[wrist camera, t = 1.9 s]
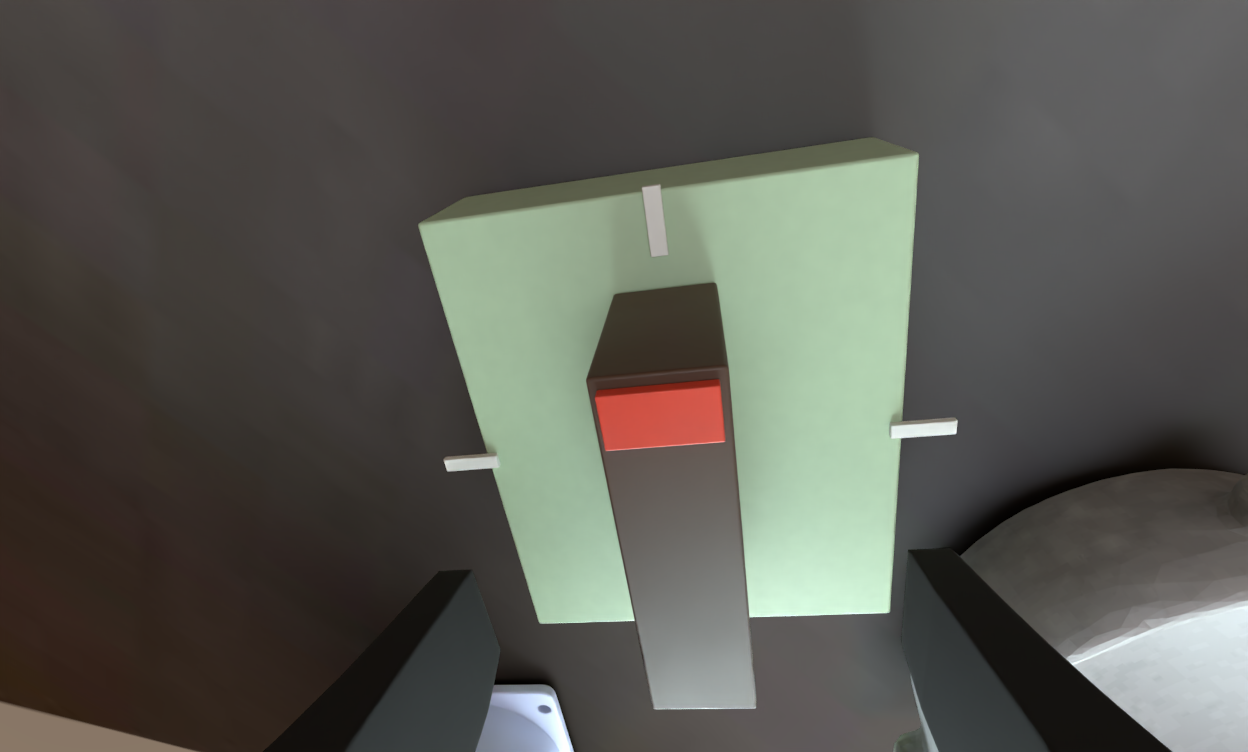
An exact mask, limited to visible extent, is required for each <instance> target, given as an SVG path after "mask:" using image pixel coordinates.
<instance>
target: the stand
mask: <svg viewBox="0 0 1248 752" xmlns="http://www.w3.org/2000/svg"><path fill="white" fill-rule="evenodd" d="M918 163H919V154H918V153H917V152H914V151H911V150H909V149H906V148H903V147H900V146H897V145H894V144H891V143H888V142H885V141H883V140H880V139H877V138H874V137H870V138H863V139H856V140H849V141H842V142H836V143H829V144H822V145H815V146H809V147H802V148H795V149H788V150H781V151H775V152H768V153H761V154H754V155H748V156H741V157H734V158H727V159H721V160H714V161H707V162H700V163H693V164H687V165H680V166H673V167H666V168H660V169H653V170H646V171H639V172H632V173H626V174H619V175H612V176H605V177H599V178H592V179H585V180H578V181H572V182H565V183H558V184H551V185H544V186H538V187H531V188H524V189H517V190H511V191H504V192H497V193H490V194H483V195H477V196H470V197H465V198H463V199H461V200H460V201H458V202H456V203H454V204H452V205H451V206H449V207H447V208H445V209H444V210H442V211H440V212H438V213H436V214H435V215H433V216H431V217H429V218H428V219H426V220H424V221H422V222H421V223H419V224H418V227H419V230H420V234H421V237H422V240H423V244H424V247H425V250H426V253H427V257H428V260H429V263H430V266H431V270H432V273H433V276H434V280H435V283H436V286H437V289H438V293H439V296H440V299H441V303H442V306H443V309H444V312H445V316H446V319H447V322H448V326H449V329H450V332H451V335H452V339H453V342H454V345H455V348H456V352H457V355H458V358H459V362H460V365H461V368H462V371H463V375H464V378H465V381H466V385H467V388H468V391H469V394H470V398H471V401H472V404H473V407H474V411H475V414H476V417H477V421H478V424H479V427H480V430H481V434H482V437H483V440H484V444H485V447H486V450H487V453H488V454H476V455H463V456H450V457H445V459H444V463H445V466H446V469H447V471H460V470H473V469H487V468H492V470H493V473H494V476H495V480H496V483H497V486H498V489H499V493H500V496H501V499H502V503H503V506H504V509H505V512H506V516H507V519H508V522H509V526H510V529H511V532H512V535H513V539H514V542H515V545H516V548H517V552H518V555H519V558H520V562H521V565H522V568H523V571H524V575H525V578H526V581H527V585H528V588H529V591H530V594H531V598H532V601H533V604H534V608H535V611H536V614H537V617H538V621H539V623H541V624H542V623H574V622H607V621H635V619H634V615H633V610H632V605H631V600H630V595H629V590H628V585H627V580H626V575H625V570H624V565H623V561H622V556H621V551H620V546H619V541H618V536H617V531H616V526H615V521H614V516H613V512H612V507H611V502H610V497H609V492H608V487H607V482H606V477H605V472H604V467H603V463H602V458H601V453H600V448H599V443H598V438H597V433H596V428H595V423H594V418H593V413H592V409H591V404H590V399H589V394H588V389H587V384H586V378H587V375H588V372H589V369H590V366H591V363H592V360H593V357H594V354H595V351H596V348H597V345H598V342H599V339H600V335H601V332H602V329H603V326H604V323H605V320H606V317H607V314H608V311H609V308H610V305H611V302H612V299H613V296H614V295H615V294H620V293H629V292H637V291H646V290H654V289H663V288H672V287H680V286H689V285H697V284H706V283H716V284H717V288H718V295H719V302H720V309H721V316H722V323H723V330H724V337H725V344H726V351H727V358H728V365H729V376H730V388H731V400H732V412H733V424H734V436H735V448H736V460H737V472H738V484H739V496H740V508H741V520H742V532H743V544H744V556H745V568H746V580H747V592H748V604H749V616H750V617H768V616H800V615H832V614H865V613H888V612H890V604H891V589H892V573H893V557H894V541H895V526H896V510H897V494H898V478H899V463H900V447H901V438H909V437H923V436H936V435H950V434H956V431H957V422H958V421H957V419H956V418H941V419H928V420H915V421H902V415H903V400H904V384H905V368H906V352H907V336H908V321H909V305H910V289H911V273H912V258H913V242H914V226H915V210H916V195H917V179H918Z"/></svg>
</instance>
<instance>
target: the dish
mask: <svg viewBox="0 0 1248 752" xmlns="http://www.w3.org/2000/svg"><path fill="white" fill-rule="evenodd" d="M960 557H961V558H962V559H963V560H964V561H965V562H966V563H967V564H968V565H969V566H970V567H971V568H972V569H973V570H974V571H975V572H976V573H977V574H978V575H979V576H980V577H981V578H982V579H983V580H984V581H985V582H986V583H987V584H988V585H989V586H990V587H991V588H992V589H993V590H994V591H995V592H996V593H997V594H998V595H999V596H1000V597H1001V598H1002V599H1003V600H1004V601H1005V602H1006V603H1007V604H1008V605H1009V606H1010V607H1011V608H1012V609H1013V610H1014V611H1015V612H1016V613H1017V614H1018V615H1019V616H1021V617H1022V618H1023V619H1024V620H1025V621H1026V622H1027V623H1028V624H1029V625H1030V626H1031V627H1032V628H1033V629H1034V630H1035V631H1036V632H1037V633H1038V634H1039V635H1040V636H1041V637H1043V638H1044V639H1045V640H1046V641H1047V642H1048V643H1049V644H1050V645H1051V646H1052V647H1053V648H1054V649H1056V650H1057V651H1058V652H1059V653H1060V654H1061V655H1062V656H1063V657H1064V658H1065V659H1066V660H1068V661H1069V662H1070V663H1071V664H1072V665H1073V666H1074V667H1075V668H1076V669H1077V670H1078V671H1080V672H1081V673H1082V674H1083V675H1084V676H1085V677H1086V678H1087V679H1088V680H1089V681H1091V682H1092V683H1093V684H1094V685H1095V686H1096V687H1097V688H1098V689H1100V690H1101V691H1102V692H1103V693H1104V694H1105V695H1106V696H1108V697H1109V698H1110V699H1111V700H1112V701H1113V702H1114V703H1116V704H1117V705H1118V706H1119V707H1120V708H1121V709H1123V710H1124V711H1125V712H1126V713H1127V714H1128V715H1130V716H1131V717H1132V718H1133V719H1134V720H1135V721H1137V722H1138V723H1139V724H1140V725H1141V726H1143V727H1144V728H1145V729H1146V730H1147V731H1148V732H1150V733H1151V734H1152V735H1153V736H1154V737H1156V738H1157V739H1158V740H1159V741H1160V742H1161V743H1163V744H1164V745H1165V746H1166V747H1168V748H1169V749H1170V750H1171V751H1172V752H1248V474H1247V475H1240V474H1237V473H1230V472H1223V471H1216V470H1204V469H1161V470H1153V471H1145V472H1138V473H1132V474H1127V475H1122V476H1118V477H1113V478H1108V479H1104V480H1100V481H1096V482H1093V483H1090V484H1087V485H1084V486H1081V487H1078V488H1075V489H1072V490H1069V491H1066V492H1064V493H1061V494H1058V495H1056V496H1053V497H1051V498H1048V499H1046V500H1044V501H1042V502H1040V503H1038V504H1036V505H1033V506H1031V507H1029V508H1027V509H1024V510H1023V511H1021V512H1019V513H1018V514H1016V515H1014V516H1013V517H1011V518H1009V519H1008V520H1006V521H1004V522H1002V523H1001V524H1000V525H998V526H997V527H996V528H994V529H993V530H991V531H990V532H989V533H987V534H986V535H985V536H983V537H982V538H980V539H979V540H978V541H976V542H975V543H974V544H973V545H972V546H971V547H970V548H969V549H967V550H966V551H965V552H964V553H963V554H962V555H961V556H960ZM911 682H912V687H913V691H914V696H915V700H916V704H917V708H918V712H919V716H920V720H921V726H920V728H919V729H917V730H916V731H912V732H908V733H905V734H903V735H900V737H899V738H898V739H897V741H896V742H895V744H894V750H893V752H939V751H938V749H937V747H936V744H935V742H934V739H933V737H932V734H931V732H930V730H929V727H928V725H927V722H926V720H925V717H924V715H923V712H922V710H921V707H920V703H919V700H918V697H917V694H916V690H915V687H914V684H913V680H912V677H911Z"/></svg>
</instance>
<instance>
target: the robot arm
mask: <svg viewBox="0 0 1248 752" xmlns="http://www.w3.org/2000/svg"><path fill="white" fill-rule="evenodd" d="M901 642H902V645H903V649H904V652H905V656H906V659H907V663H908V667H909V670H910V674H911V677H912V680H913V684H914V687H915V690H916V694H917V697H918V700H919V703H920V707H921V710H922V712H923V715H924V717H925V720H926V722H927V725H928V727H929V730H930V732H931V734H932V737H933V739H934V742H935V744H936V747H937V749H938V751H939V752H1172V751H1171V750H1170V749H1169V748H1168V747H1166V746H1165V745H1164V744H1163V743H1161V742H1160V741H1159V740H1158V739H1157V738H1156V737H1154V736H1153V735H1152V734H1151V733H1150V732H1148V731H1147V730H1146V729H1145V728H1144V727H1143V726H1141V725H1140V724H1139V723H1138V722H1137V721H1135V720H1134V719H1133V718H1132V717H1131V716H1130V715H1128V714H1127V713H1126V712H1125V711H1124V710H1123V709H1121V708H1120V707H1119V706H1118V705H1117V704H1116V703H1114V702H1113V701H1112V700H1111V699H1110V698H1109V697H1108V696H1106V695H1105V694H1104V693H1103V692H1102V691H1101V690H1100V689H1098V688H1097V687H1096V686H1095V685H1094V684H1093V683H1092V682H1091V681H1089V680H1088V679H1087V678H1086V677H1085V676H1084V675H1083V674H1082V673H1081V672H1080V671H1078V670H1077V669H1076V668H1075V667H1074V666H1073V665H1072V664H1071V663H1070V662H1069V661H1068V660H1066V659H1065V658H1064V657H1063V656H1062V655H1061V654H1060V653H1059V652H1058V651H1057V650H1056V649H1054V648H1053V647H1052V646H1051V645H1050V644H1049V643H1048V642H1047V641H1046V640H1045V639H1044V638H1043V637H1041V636H1040V635H1039V634H1038V633H1037V632H1036V631H1035V630H1034V629H1033V628H1032V627H1031V626H1030V625H1029V624H1028V623H1027V622H1026V621H1025V620H1024V619H1023V618H1022V617H1021V616H1019V615H1018V614H1017V613H1016V612H1015V611H1014V610H1013V609H1012V608H1011V607H1010V606H1009V605H1008V604H1007V603H1006V602H1005V601H1004V600H1003V599H1002V598H1001V597H1000V596H999V595H998V594H997V593H996V592H995V591H994V590H993V589H992V588H991V587H990V586H989V585H988V584H987V583H986V582H985V581H984V580H983V579H982V578H981V577H980V576H979V575H978V574H977V573H976V572H975V571H974V570H973V569H972V568H971V567H970V566H969V565H968V564H967V563H966V562H965V561H964V560H963V559H962V558H961V557H960V556H959V555H958V554H957V553H956V552H954V551H953V550H952V549H951V548H939V549H917V550H908V560H907V573H906V585H905V598H904V611H903V624H902V636H901ZM500 651H501V650H500V647H499V644H498V641H497V638H496V636H495V633H494V630H493V627H492V625H491V622H490V619H489V616H488V613H487V611H486V608H485V605H484V602H483V599H482V597H481V594H480V591H479V588H478V585H477V583H476V580H475V577H474V574H473V571H472V570H452V571H439V572H438V573H437V574H436V575H435V576H434V577H433V578H432V579H431V580H430V581H429V582H428V583H427V584H426V585H425V586H424V588H423V589H422V590H421V591H420V592H419V593H418V594H417V595H416V596H415V597H414V598H413V599H412V600H411V602H410V603H409V604H408V605H407V606H406V607H405V608H404V609H403V610H402V611H401V612H400V613H399V615H398V616H397V617H396V618H395V619H394V620H393V621H392V622H391V623H390V624H389V625H388V626H387V628H386V629H385V630H384V631H383V632H382V633H381V634H380V635H379V636H378V637H377V638H376V639H375V640H374V641H373V642H372V644H371V645H370V646H369V647H368V648H367V649H366V650H365V651H364V652H363V653H362V654H361V655H360V656H359V657H358V658H357V659H356V660H355V662H354V663H353V664H352V665H351V666H350V667H349V668H348V669H347V670H346V671H345V672H344V673H343V674H342V675H341V676H340V677H339V678H338V679H337V680H336V681H335V682H334V683H333V684H332V685H331V686H330V687H329V688H328V689H327V690H326V691H325V692H324V693H323V694H322V695H321V696H320V697H319V698H318V699H317V700H316V701H315V702H314V703H313V704H312V705H311V706H310V707H309V708H308V709H307V710H306V711H305V712H304V713H303V714H302V715H301V716H300V717H299V718H298V719H297V720H296V721H295V722H294V723H293V724H292V725H291V726H290V727H289V728H288V729H286V730H285V731H284V732H283V733H282V734H281V735H280V736H279V737H278V738H277V739H276V740H275V741H274V742H273V743H272V744H271V745H270V746H269V747H267V748H266V749H265V750H264V751H263V752H574V750H573V747H572V744H571V741H570V737H569V734H568V731H567V728H566V725H565V721H564V718H563V715H562V712H561V708H560V705H559V702H558V699H557V696H556V693H555V691H554V689H553V688H551V687H550V686H548V685H544V684H522V685H494V682H495V677H496V672H497V666H498V661H499V656H500Z"/></svg>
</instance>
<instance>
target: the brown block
mask: <svg viewBox="0 0 1248 752" xmlns="http://www.w3.org/2000/svg"><path fill="white" fill-rule="evenodd" d="M586 384H587V389H588V394H589V399H590V404H591V409H592V413H593V418H594V423H595V428H596V433H597V438H598V443H599V448H600V453H601V458H602V463H603V467H604V472H605V477H606V482H607V487H608V492H609V497H610V502H611V507H612V512H613V516H614V521H615V526H616V531H617V536H618V541H619V546H620V551H621V556H622V561H623V565H624V570H625V575H626V580H627V585H628V590H629V595H630V600H631V605H632V610H633V615H634V619H635V624H636V629H637V634H638V639H639V644H640V649H641V654H642V659H643V664H644V668H645V673H646V678H647V683H648V688H649V693H650V698H651V703H652V707H653V708H654V709H729V708H756V706H757V701H756V689H755V677H754V664H753V652H752V640H751V628H750V616H749V604H748V592H747V580H746V568H745V556H744V544H743V532H742V520H741V508H740V496H739V484H738V472H737V460H736V448H735V436H734V424H733V412H732V400H731V388H730V376H729V365H728V358H727V351H726V344H725V337H724V330H723V323H722V316H721V309H720V302H719V295H718V288H717V284H716V283H706V284H697V285H689V286H680V287H672V288H663V289H654V290H646V291H637V292H629V293H620V294H615V295H614V296H613V299H612V302H611V305H610V308H609V311H608V314H607V317H606V320H605V323H604V326H603V329H602V332H601V335H600V339H599V342H598V345H597V348H596V351H595V354H594V357H593V360H592V363H591V366H590V369H589V372H588V375H587V378H586Z"/></svg>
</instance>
